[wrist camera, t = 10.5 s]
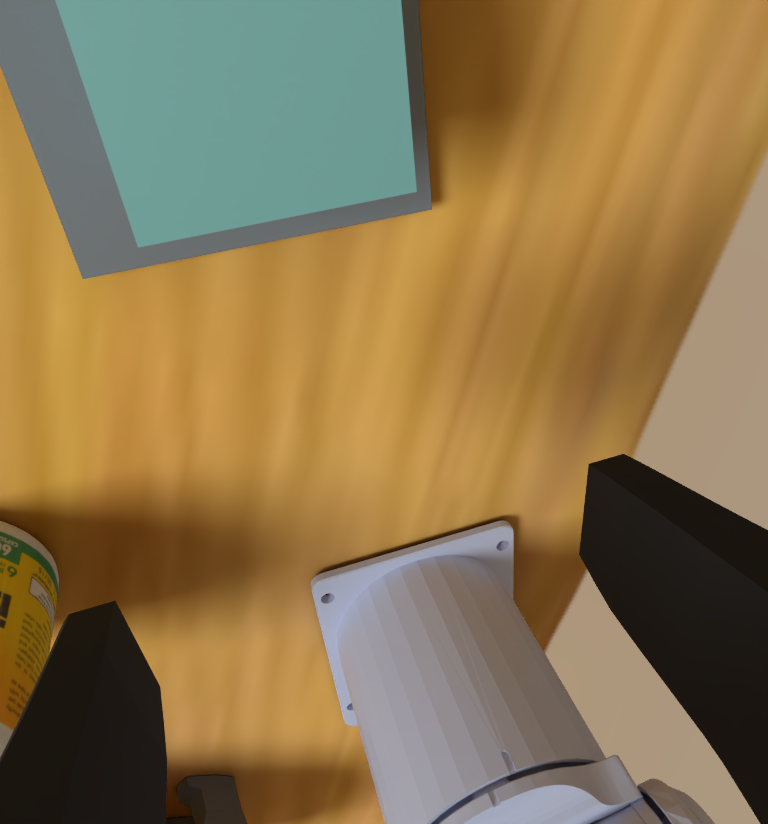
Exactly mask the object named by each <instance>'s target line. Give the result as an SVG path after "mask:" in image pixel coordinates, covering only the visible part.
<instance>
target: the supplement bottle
mask: <svg viewBox="0 0 768 824" xmlns="http://www.w3.org/2000/svg"><path fill="white" fill-rule="evenodd" d="M58 591H59V575H58V570H57V566H56V563H55V561H54V559H53V557H52V555H51V554H50V553H49V552H48V550H47V549H46V548H45V547H44V546H43V545H42V544H41V543H40V542H39V541H38V540H37V539H35V538H34V537H33V536H31V535H30V534H28V533H27V532H25V531H24V530H21V529H19V528H17V527H15V526H13V525H10V524H8V523H6V522H3V521H0V757H1V755H2V753H3V751H4V749H5V747H6V745H7V743H8V741H9V739H10V737H11V735H12V733H13V731H14V729H15V727H16V725H17V723H18V721H19V719H20V717H21V714H22V712H23V710H24V708H25V706H26V704H27V702H28V700H29V697H30V695H31V693H32V691H33V689H34V687H35V685H36V682H37V680H38V678H39V676H40V674H41V672H42V669H43V667H44V665H45V663H46V661H47V658H48V656H49V651H50V643H51V638H52V631H53V625H54V618H55V612H56V605H57V598H58Z"/></svg>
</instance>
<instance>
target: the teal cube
mask: <svg viewBox="0 0 768 824" xmlns="http://www.w3.org/2000/svg"><path fill="white" fill-rule="evenodd" d="M55 1H56V4H57V7H58V10H59V13H60V16H61V19H62V22H63V25H64V28H65V31H66V34H67V37H68V40H69V43H70V46H71V49H72V52H73V55H74V58H75V61H76V64H77V67H78V70H79V73H80V76H81V79H82V82H83V85H84V88H85V91H86V94H87V97H88V100H89V103H90V106H91V109H92V112H93V115H94V118H95V121H96V124H97V127H98V130H99V133H100V136H101V139H102V142H103V145H104V148H105V151H106V154H107V156H108V159H109V162H110V165H111V168H112V171H113V174H114V177H115V180H116V183H117V186H118V189H119V192H120V195H121V198H122V201H123V204H124V207H125V210H126V213H127V216H128V219H129V222H130V225H131V228H132V231H133V234H134V237H135V240H136V243H137V246H138V248H139V247H144V246H149V245H154V244H159V243H164V242H169V241H174V240H179V239H184V238H189V237H194V236H199V235H204V234H209V233H214V232H219V231H224V230H229V229H234V228H239V227H244V226H249V225H254V224H259V223H264V222H269V221H274V220H279V219H284V218H289V217H294V216H299V215H304V214H309V213H314V212H319V211H324V210H329V209H334V208H339V207H344V206H349V205H354V204H359V203H364V202H369V201H374V200H379V199H384V198H389V197H394V196H399V195H404V194H409V193H414V192H417V188H416V176H415V164H414V152H413V139H412V127H411V115H410V103H409V90H408V78H407V66H406V54H405V41H404V29H403V17H402V5H401V0H55Z"/></svg>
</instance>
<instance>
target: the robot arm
mask: <svg viewBox="0 0 768 824" xmlns="http://www.w3.org/2000/svg"><path fill="white" fill-rule="evenodd" d="M501 541H502V542H501ZM499 542H501V543H499ZM498 543H499V544H498ZM579 555H580V557H581V558H582V560H583V562H584V564H585V566H586V567H587V569H588V571H589V573H590V575H591V577H592V578H593V580H594V582H595V584H596V586H597V587H598V589H599V591H600V592H601V594H602V596H603V597H604V599H605V601H606V603H607V604H608V606H609V608H610V609H611V611H612V612H613V614H614V615H615V617H616V618H617V619H618V620H619V622H620V623H621V625H622V626H623V628H624V629H625V630H626V631H627V633H628V634H629V636H630V637H631V638H632V640H633V641H634V642H635V644H636V645H637V647H638V648H639V649H640V651H641V652H642V653H643V655H644V656H645V657H646V659H647V660H648V661H649V663H650V664H651V665H652V667H653V668H654V669H655V671H656V672H657V673H658V675H659V676H660V677H661V679H662V680H663V681H664V682H665V684H666V685H667V687H668V688H669V689H670V691H671V692H672V693H673V695H674V696H675V697H676V698H677V700H678V701H679V703H680V704H681V705H682V707H683V708H684V709H685V711H686V712H687V713H688V715H689V716H690V717H691V719H692V720H693V721H694V723H695V724H696V725H697V727H698V728H699V729H700V731H701V732H702V733H703V735H704V736H705V738H706V739H707V741H708V742H709V743H710V745H711V746H712V748H713V749H714V751H715V752H716V754H717V755H718V756H719V758H720V759H721V761H722V762H723V764H724V765H725V767H726V768H727V770H728V772H729V773H730V775H731V777H732V778H733V779H734V781H735V783H736V785H737V786H738V788H739V790H740V791H741V793H742V794H743V796H744V798H745V799H746V801H747V803H748V804H749V806H750V807H751V809H752V810H753V812H754V814H755V815H756V817H757V819H758V820H759V822H760V823H761V824H768V530H766V529H764V528H762V527H761V526H758V525H757V524H755V523H752V522H751V521H749V520H747V519H745V518H743V517H741V516H739V515H737V514H736V513H733V512H732V511H730V510H728V509H726V508H724V507H722V506H720V505H719V504H717V503H715V502H713V501H711V500H709V499H707V498H705V497H704V496H702V495H700V494H698V493H696V492H694V491H692V490H691V489H689V488H687V487H685V486H683V485H682V484H680V483H678V482H676V481H674V480H672V479H670V478H668V477H667V476H665V475H663V474H661V473H659V472H658V471H656V470H654V469H652V468H650V467H648V466H646V465H644V464H642V463H641V462H639V461H637V460H635V459H633V458H631V457H629V456H627V455H625V454H622V455H618V456H615V457H611V458H608V459H604V460H601V461H597V462H594V463H590V464H589V467H588V476H587V486H586V495H585V505H584V514H583V524H582V533H581V542H580V552H579ZM513 589H514V530H513V528H512V526H511V525H510V523H508V522H507V521H504V520H503V521H497V522H494V523H490V524H487V525H483V526H480V527H477V528H473V529H470V530H466V531H463V532H460V533H456V534H453V535H449V536H446V537H443V538H439V539H436V540H432V541H429V542H426V543H422V544H419V545H416V546H412V547H409V548H405V549H402V550H399V551H395V552H392V553H388V554H385V555H382V556H378V557H375V558H371V559H368V560H365V561H361V562H358V563H354V564H351V565H348V566H344V567H341V568H337V569H334V570H331V571H327V572H324V573H321V574H319V575H317V576H315V577H314V578H313V579H312V581H311V590H312V594H313V598H314V602H315V606H316V610H317V614H318V618H319V622H320V626H321V630H322V634H323V638H324V642H325V646H326V650H327V654H328V658H329V662H330V666H331V670H332V674H333V678H334V682H335V686H336V690H337V694H338V698H339V702H340V706H341V710H342V714H343V718H344V722H345V724H346V725H349V726H355V725H358V727H359V731H360V734H361V738H362V742H363V745H364V749H365V753H366V756H367V760H368V763H369V767H370V771H371V774H372V778H373V782H374V785H375V789H376V792H377V796H378V800H379V803H380V807H381V811H382V814H383V818H384V821H385V824H714V822H713V821H712V819H711V818H710V817H709V816H708V815H707V814H706V812H705V811H704V810H703V809H702V808H701V807H700V806H699V805H698V804H697V803H696V802H695V801H694V800H693V799H692V798H691V797H690V796H688V795H687V794H685V793H684V792H681V791H679V790H676V789H674V788H672V787H669V786H668V785H666V784H665V783H663V782H662V781H660V780H657V779H649V780H647V781H645V782H643V783H641V784H639V785H638V786H636V784H635V783H634V781H633V779H632V778H631V776H630V775H629V773H628V771H627V769H626V768H625V766H624V765H623V763H622V761H621V760H620V758H619V756H617V755H613V756H610V757H608V758H606V757H605V755H604V754H603V752H602V750H601V748H600V747H599V745H598V743H597V742H596V740H595V738H594V737H593V735H592V733H591V732H590V730H589V728H588V726H587V725H586V723H585V721H584V720H583V718H582V716H581V714H580V713H579V711H578V709H577V708H576V706H575V704H574V703H573V701H572V699H571V697H570V696H569V694H568V692H567V691H566V689H565V687H564V686H563V684H562V682H561V680H560V679H559V677H558V675H557V674H556V672H555V671H554V669H553V667H552V665H551V664H550V662H549V660H548V658H547V657H546V655H545V653H544V652H543V650H542V648H541V647H540V645H539V643H538V641H537V640H536V638H535V636H534V635H533V633H532V631H531V630H530V628H529V626H528V624H527V623H526V621H525V619H524V618H523V616H522V614H521V613H520V611H519V609H518V607H517V606H516V604H515V602H514V601H513ZM328 593H330V594H328ZM325 594H328V595H325ZM323 595H325V596H323ZM166 789H167V755H166V743H165V731H164V721H163V711H162V701H161V691H160V686H159V684H158V682H157V680H156V678H155V676H154V674H153V672H152V670H151V668H150V666H149V665H148V663H147V661H146V659H145V657H144V655H143V653H142V651H141V649H140V647H139V645H138V643H137V642H136V640H135V638H134V636H133V634H132V632H131V630H130V628H129V626H128V624H127V622H126V620H125V619H124V617H123V615H122V613H121V611H120V609H119V607H118V605H117V603H116V601H113V602H110V603H106V604H103V605H99V606H96V607H93V608H89V609H86V610H82V611H79V612H75V613H72V614H69V615H68V617H67V618H66V619H65V621H64V622H63V625H62V627H61V629H60V631H59V634H58V636H57V638H56V640H55V643H54V645H53V647H52V649H51V652H50V654H49V656H48V658H47V661H46V663H45V665H44V667H43V669H42V672H41V674H40V676H39V678H38V680H37V682H36V685H35V687H34V689H33V691H32V693H31V695H30V697H29V700H28V702H27V704H26V706H25V708H24V710H23V712H22V714H21V717H20V719H19V721H18V723H17V725H16V727H15V729H14V731H13V733H12V735H11V737H10V739H9V741H8V743H7V745H6V747H5V749H4V751H3V753H2V755H1V757H0V824H166Z"/></svg>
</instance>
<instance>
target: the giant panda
mask: <svg viewBox="0 0 768 824" xmlns="http://www.w3.org/2000/svg"><path fill="white" fill-rule="evenodd" d="M177 796H178V799H179V802H180V803H181V804H183V805H185V806H188V807H190V809H191V812H192V815H193V817H186V818H172V819H166V824H247V822H246V819H245V817H244V814H243V812H242V809H241V805H240V801H239V797H238V794H237V790H236V785H235V781H234V777H229V776H220V775H210V776H194V777H186V778H185V779H184V780H183V781H182V782H181V783H180V784H179V785H178V786H177Z"/></svg>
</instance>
